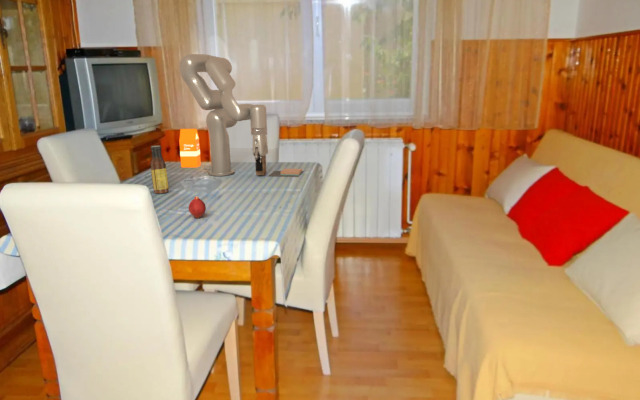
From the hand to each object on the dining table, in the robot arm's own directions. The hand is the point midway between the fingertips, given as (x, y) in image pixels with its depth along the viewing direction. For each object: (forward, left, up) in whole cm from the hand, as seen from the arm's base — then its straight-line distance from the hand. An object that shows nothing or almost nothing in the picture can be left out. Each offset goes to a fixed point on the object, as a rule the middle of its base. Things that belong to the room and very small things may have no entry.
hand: (260, 169), depth 247 cm
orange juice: (-46, +25, -4) cm, 53 cm away
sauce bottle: (-34, -35, -4) cm, 49 cm away
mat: (+11, +6, -4) cm, 13 cm away
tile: (+9, +7, -2) cm, 12 cm away
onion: (-3, -70, -4) cm, 70 cm away
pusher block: (0, 0, -2) cm, 2 cm away
